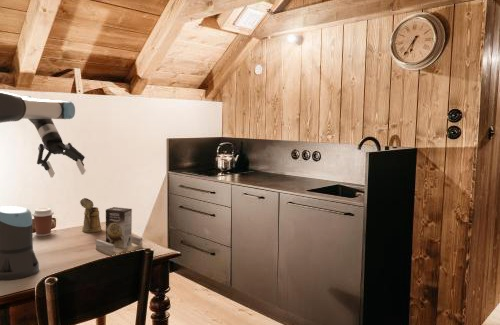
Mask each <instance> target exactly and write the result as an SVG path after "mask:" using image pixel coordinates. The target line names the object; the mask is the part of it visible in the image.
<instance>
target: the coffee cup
mask: <svg viewBox="0 0 500 325" xmlns="http://www.w3.org/2000/svg"><path fill="white" fill-rule="evenodd" d="M31 214H32V217H33V218H34V221H33V222H34V227H35V236H37V237H45V236H49V235H52V224H53V222H52V221H53V220H52V219H53V215H54V211H53V210H52V208H50V207H39V208H35V209H34V211H33V212H32V213H31Z"/></svg>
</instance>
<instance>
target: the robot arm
mask: <svg viewBox="0 0 500 325" xmlns="http://www.w3.org/2000/svg"><path fill="white" fill-rule="evenodd" d="M75 114H76V106H75V104H74V103H73V102H72V101H67V100H63V101H62V100H50V99H40V98H38V99H37V98H33V97H32V96H30V95H24V96H20V95H19V94H15V93H9V92H5V91H0V124H1V123H7V122H19V121H21V120H22V119H27V120H29V121H30V122H31V123H32V124H33V126H35V129H36V131H37V133H38V135H39V137H40V140H41V142H42V143H40V144H39V146H38V148H37V149H38V156H37V160H36V164H37V165H40V166H41V167H44V170H45V171H47V172H48V174H49V178H53V177H54V176H55V173H56V172H55V171H54V169H53V167H52V164H51V162H50V161H48V160H49V158H50V157H51V156H52V155H63V156H67V157H68V158H69V159H72V161H74V162H76V166H77V168H78V170H79V172H80V174H81V175H84V174H85V173H86V171H87V170H86V169H85V163H84V160H85V158H86V156H85V155H83V154H82V153H81V152H80V151H79V150H78V149H76V147H74V146H73V145H72V143H70V142H68V143H67V144H65V143H64V142H63V139H62V137H61V134H60V133H59V131H58V129H57V127H56V125H55V123H54V121H53V120H71V119H73V118H74V117H75ZM44 150H46V151H48V152H47V154H46V155H45V157H44V159H43V156H44ZM32 214H33V213H32V212H31V211H30V209H28V208H26V207H24V206H19V205H17V206H16V205H10V206H9V205H5V206H4V205H3V206H0V281H1V280H2V281H7V280H8V281H11V280H18V279H23V278H27V277H30V276H33V275H36V273H38V272H39V270H40V263H39V261H38V258H37V256H36V253H35V251H34V246H33V245H34V244H33V243H34V240H33V239H34V238H33V237H34V234H33V232H34V231H33V223H34V221H33V215H32Z"/></svg>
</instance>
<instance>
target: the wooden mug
mask: <svg viewBox="0 0 500 325" xmlns="http://www.w3.org/2000/svg"><path fill="white" fill-rule="evenodd" d="M79 204H80V205H81V207H82V208H83V209H84V208H85V209H84V214H83V215H84V216H83V225H82V232H83V233H87V234H94V233H99V232H101V231H102V226H101V219H100V210H99V207H97V206H94V202H93V201H92V200H91V199H89V198H86V197H84V198H82V199H81V200H80V201H79Z"/></svg>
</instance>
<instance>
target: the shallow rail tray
mask: <svg viewBox="0 0 500 325" xmlns="http://www.w3.org/2000/svg"><path fill="white" fill-rule="evenodd" d="M142 248H143V237H140V236H137V235H133V234H132V245H130V246H129V247H127V248H125V249H122V248H115V245H113V244H110V243H107V242H106V240H105V241H104V240H101V239H95V250H97V251H99V252H102V253H104V254H107V255H109V256H112V255H113V256H115V255H114V254H117V255H120V254H119V253H121V254H123V252H124V253H127V252H132V251H134V250H135V251H136V250H139V249H142Z"/></svg>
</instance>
